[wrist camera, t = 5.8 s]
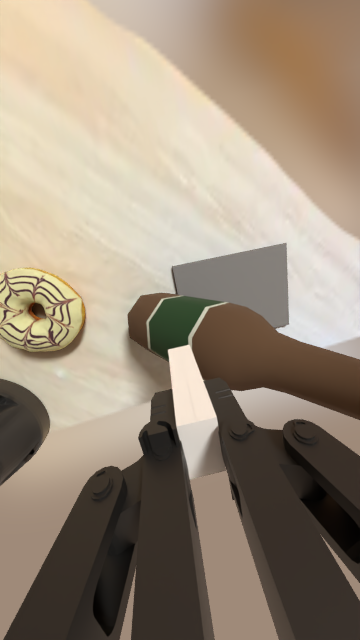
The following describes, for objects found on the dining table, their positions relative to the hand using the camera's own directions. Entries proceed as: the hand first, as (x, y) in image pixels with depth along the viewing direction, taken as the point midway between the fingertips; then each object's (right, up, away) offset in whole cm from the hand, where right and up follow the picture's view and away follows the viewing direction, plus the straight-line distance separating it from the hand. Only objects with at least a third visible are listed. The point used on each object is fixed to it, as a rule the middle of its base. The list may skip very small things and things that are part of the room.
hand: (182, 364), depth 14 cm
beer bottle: (-4, +3, +13) cm, 14 cm away
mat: (+8, +6, +15) cm, 18 cm away
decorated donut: (-18, +5, +13) cm, 23 cm away
